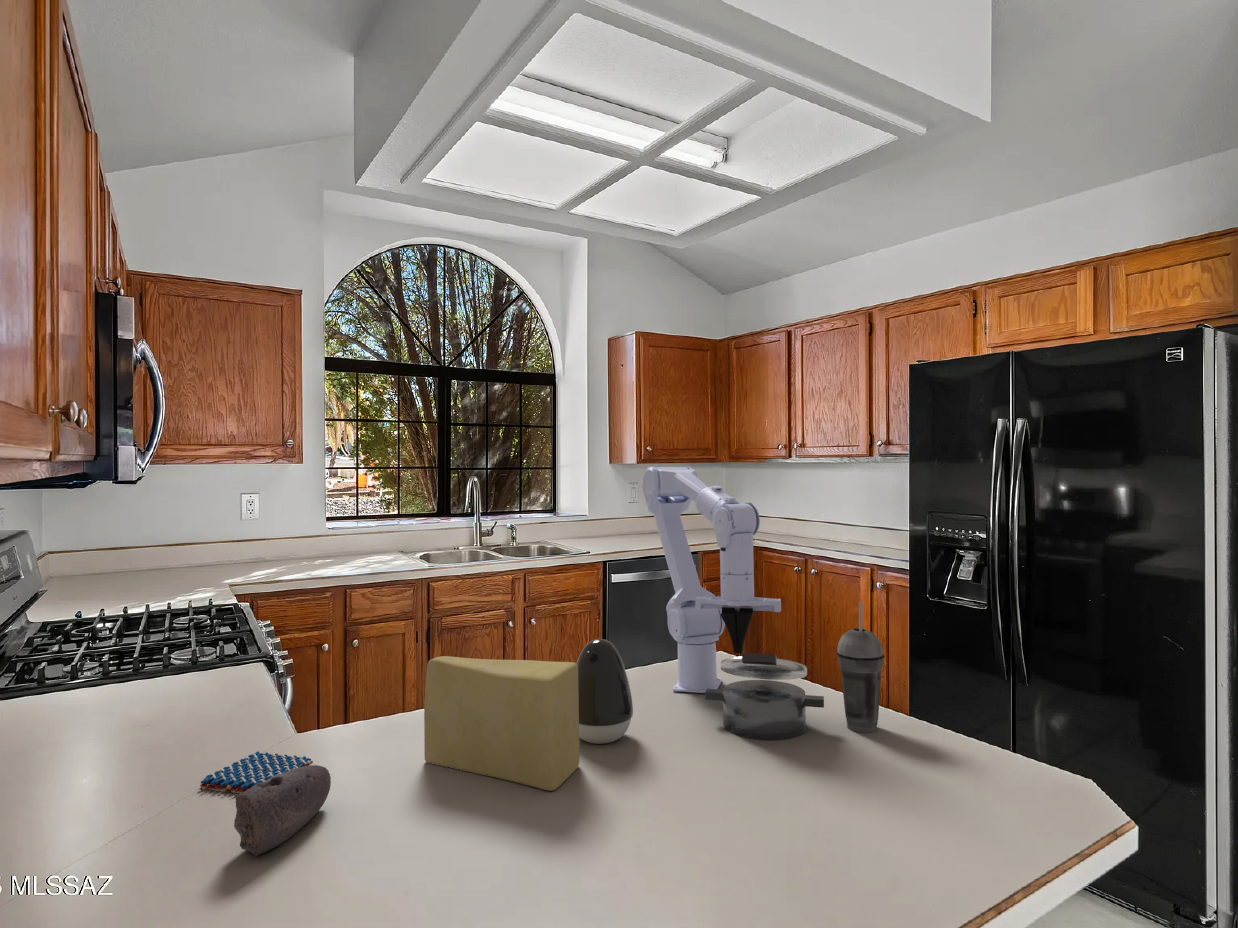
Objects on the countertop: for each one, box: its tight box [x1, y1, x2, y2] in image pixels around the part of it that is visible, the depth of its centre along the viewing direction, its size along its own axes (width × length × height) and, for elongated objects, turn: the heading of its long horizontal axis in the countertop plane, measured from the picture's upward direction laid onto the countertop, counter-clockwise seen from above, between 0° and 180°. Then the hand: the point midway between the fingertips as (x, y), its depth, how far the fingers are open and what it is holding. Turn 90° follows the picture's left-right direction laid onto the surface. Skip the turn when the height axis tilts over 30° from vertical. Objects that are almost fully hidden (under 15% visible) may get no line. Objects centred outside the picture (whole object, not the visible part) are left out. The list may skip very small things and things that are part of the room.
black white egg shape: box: [575, 638, 634, 745], centre depth 111 cm, size 10×10×15 cm
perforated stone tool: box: [233, 764, 332, 856], centre depth 82 cm, size 15×5×7 cm, turn 165°
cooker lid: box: [720, 652, 808, 681], centre depth 115 cm, size 15×14×2 cm
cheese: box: [423, 655, 580, 792], centre depth 99 cm, size 22×10×15 cm, turn 71°
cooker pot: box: [704, 679, 825, 741], centre depth 115 cm, size 13×19×6 cm
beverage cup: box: [836, 601, 886, 734], centre depth 114 cm, size 7×7×20 cm
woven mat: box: [199, 750, 314, 794], centre depth 98 cm, size 10×11×2 cm
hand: (738, 652), depth 124 cm, fingers closed
